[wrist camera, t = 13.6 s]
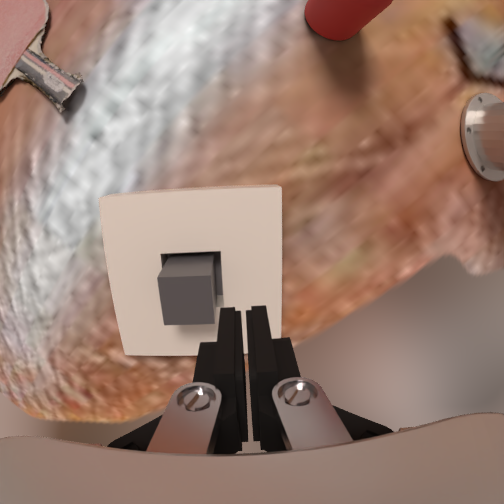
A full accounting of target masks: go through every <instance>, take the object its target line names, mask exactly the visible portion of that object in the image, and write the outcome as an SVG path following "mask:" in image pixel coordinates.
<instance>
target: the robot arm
mask: <svg viewBox="0 0 504 504" xmlns="http://www.w3.org/2000/svg"><path fill="white" fill-rule="evenodd" d="M461 137H462V143H463V147H464V151H465V154H466V156H467V159H468V161H469V163H470V165H471V166H472V168H473V169H474V170H475V172H476V173H477V174H478V175H480V176H481V177H482V178H484V179H486V180H490V181H501V180H503V179H504V102H502V101H501V100H500V99H498V98H497V97H496V96H494V95H492V94H489V93H480V94H476V95H474V96H473V97H471V98H470V99H469V100H468V101H467V103H466V105H465V107H464V110H463V113H462V118H461ZM246 326H247V345H248V364H249V380H250V395H251V411H252V425H253V439H254V441H260V446H261V450H265V451H267V452H266V453H250V454H249V453H248V454H235V453H236V452H238V451H242V442H248V425H247V401H246V376H245V361H244V347H243V333H242V318H241V311H235V307H224V308H220V314H219V324H218V333H217V342H200V345H199V350H198V356H197V361H196V367H195V372H194V378H193V383H190V384H186V385H184V386H181V387H180V388H178V389H177V390H176V391H175V392H174V393H173V395H172V397H171V399H170V401H169V403H168V405H167V407H166V409H165V412H164V414H163V415H161V416H159V417H158V418H156V419H154V420H152V421H151V422H149V423H147V424H145V425H143V426H141V427H139V428H137V429H136V430H134V431H132V432H130V433H128V434H126V435H124V436H122V437H120V438H118V439H116V440H114V441H113V442H111V443H110V444H109V445H108V446H107V447H103V446H102V444H84V443H78V442H72V441H66V440H60V439H55V438H47V437H39V436H14V437H5V438H1V439H0V504H504V414H502V413H493V412H487V413H473V414H466V415H460V416H455V417H451V418H446V419H442V420H439V421H436V422H432V423H428V424H424V425H420V426H416V427H408V428H400V429H399V431H397V432H393V431H392V430H391V429H389V428H388V427H386V426H383V425H381V424H378V423H375V422H373V421H370V420H368V419H365V418H362V417H360V416H357V415H355V414H352V413H349V412H348V411H345V410H343V409H340V408H338V407H336V406H333V405H332V404H331V403H330V401H329V399H328V398H327V396H326V394H325V392H324V391H323V389H322V387H321V386H320V385H319V384H318V383H317V382H315V381H313V380H311V379H307V378H302V377H301V376H300V372H299V369H298V366H297V362H296V358H295V354H294V351H293V347H292V343H291V340H290V338H289V337H288V338H275V339H272V336H271V330H270V325H269V319H268V314H267V308H266V305H262V306H251V310H246Z"/></svg>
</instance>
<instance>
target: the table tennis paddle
mask: <svg viewBox="0 0 504 504" xmlns="http://www.w3.org/2000/svg"><path fill="white" fill-rule="evenodd" d="M48 10H49V7H48V3H47V2H46V0H0V90H2V88H3V87H5V88H6V89H7V88H8V87H9V86H10V85H11V84H12V83H13V82H14V81H13V82H12V83H11V84H9V85H8V87H7V84H8V83H9V82H10V81H11V79H13V78H14V79H15V78H17V77H19V78H18V79H21V80H22V81H25V82H30V84H32V85H33V86H36V87H37V89H39V90H41V91H42V92H43V93H44V94H45V95H46V96H47V97H48V98H50V100H51V101H52V102H53V104H54V105H55V106H57V108H58V109H59V110H60V111H59V112H62V111H63V110H66V108H65V107H64V106H63V105H62V104H63V103H62V102H63V100H65V101H66V100H67V98H68V97H69V96H70V95H71V93H72V92H73V91H74V90H75V89H76V86H78V85H79V84H80V83H81V82H83V79H82V77H81V76H82V75H81V74H80V73H77V74H70V73H66V72H64V70H62V69H60V68H59V67H57V65H55V64H54V63H52V62H51V61H49V58H46V56H45V55H44V54H43V53H42V51H41V45H40V43H42V41H43V38H44V37H45V36H43V34H44V33H45V32H44V31H45V29H44V28H45V26H46V25H47V24H45V23H46V21H47V20H48V16H47V15H48V12H49V11H48ZM45 34H46V33H45ZM42 36H43V37H42ZM41 38H42V39H41ZM15 80H16V79H15ZM4 91H5V90H3V91H2V92H1V93H0V94H2V93H3V92H4ZM1 96H3V95H1Z"/></svg>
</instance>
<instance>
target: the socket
mask: <svg viewBox="0 0 504 504" xmlns="http://www.w3.org/2000/svg"><path fill="white" fill-rule="evenodd" d="M99 207H100V217H101V226H102V234H103V242H104V249H105V256H106V263H107V269H108V275H109V281H110V287H111V292H112V298H113V303H114V308H115V313H116V317H117V322H118V326H119V331H120V335H121V340H122V344H123V348H124V352H125V355H143V356H195V355H198V350H199V345H200V342H217V333H218V324H219V314H220V308H224V307H235V311H241V318H242V333H243V347H244V354H247V353H248V345H247V326H246V310H251V306H262V305H266V308H267V314H268V319H269V325H270V330H271V336H272V339H275V338H281V314H282V187H280V186H278V185H240V186H216V187H197V188H180V189H166V190H152V191H140V192H129V193H118V194H110V195H107V196H103V197H100V198H99ZM206 252H214V259H215V274H216V288H217V298H216V313H215V324H200V325H164V322H163V315H162V309H161V302H160V295H159V288H158V280H157V277H158V275H159V273H160V272H161V270H162V268H163V266H164V265H165V263H166V261H167V260H168V258H169V256H170V254H184V253H206Z"/></svg>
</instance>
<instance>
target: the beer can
mask: <svg viewBox="0 0 504 504" xmlns="http://www.w3.org/2000/svg"><path fill="white" fill-rule="evenodd" d="M392 1H393V0H308V2H307V4H306V6H305V12H304V13H305V17H306V20H307V22H308V24H309V25H310V27H311V28H312V29H313V30H314V31H315V32H316V33H318V34H320V35H321V36H323V37H325V38H328V39H332V40H346V39H349V38H351V37H352V36H354V35H355V34H356V33H357V32H359V31H360V30H361V29H362V28H363V27H364V26H365V25H367V24H368V23H369V22H370V21H371V20H372V19H373V18H375V17H376V16H377V15H378V14H379V13H381V12H382V11H383V10H384V9H385V8H386V7H388V6H389V5H390V4H391V3H392Z"/></svg>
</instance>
